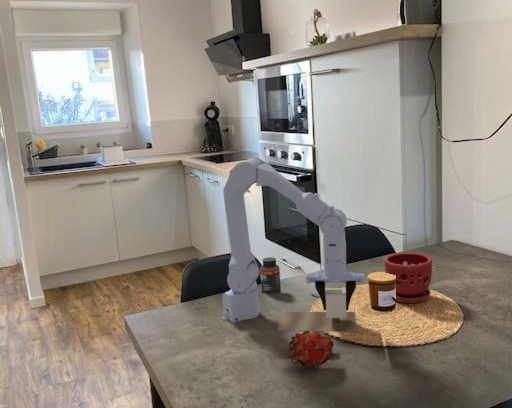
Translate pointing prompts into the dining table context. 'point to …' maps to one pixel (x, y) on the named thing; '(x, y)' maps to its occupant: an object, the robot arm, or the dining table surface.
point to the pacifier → (317, 292)
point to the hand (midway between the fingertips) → (335, 308)
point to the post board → (315, 322)
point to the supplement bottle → (270, 276)
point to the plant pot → (410, 276)
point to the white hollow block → (335, 303)
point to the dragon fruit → (310, 348)
